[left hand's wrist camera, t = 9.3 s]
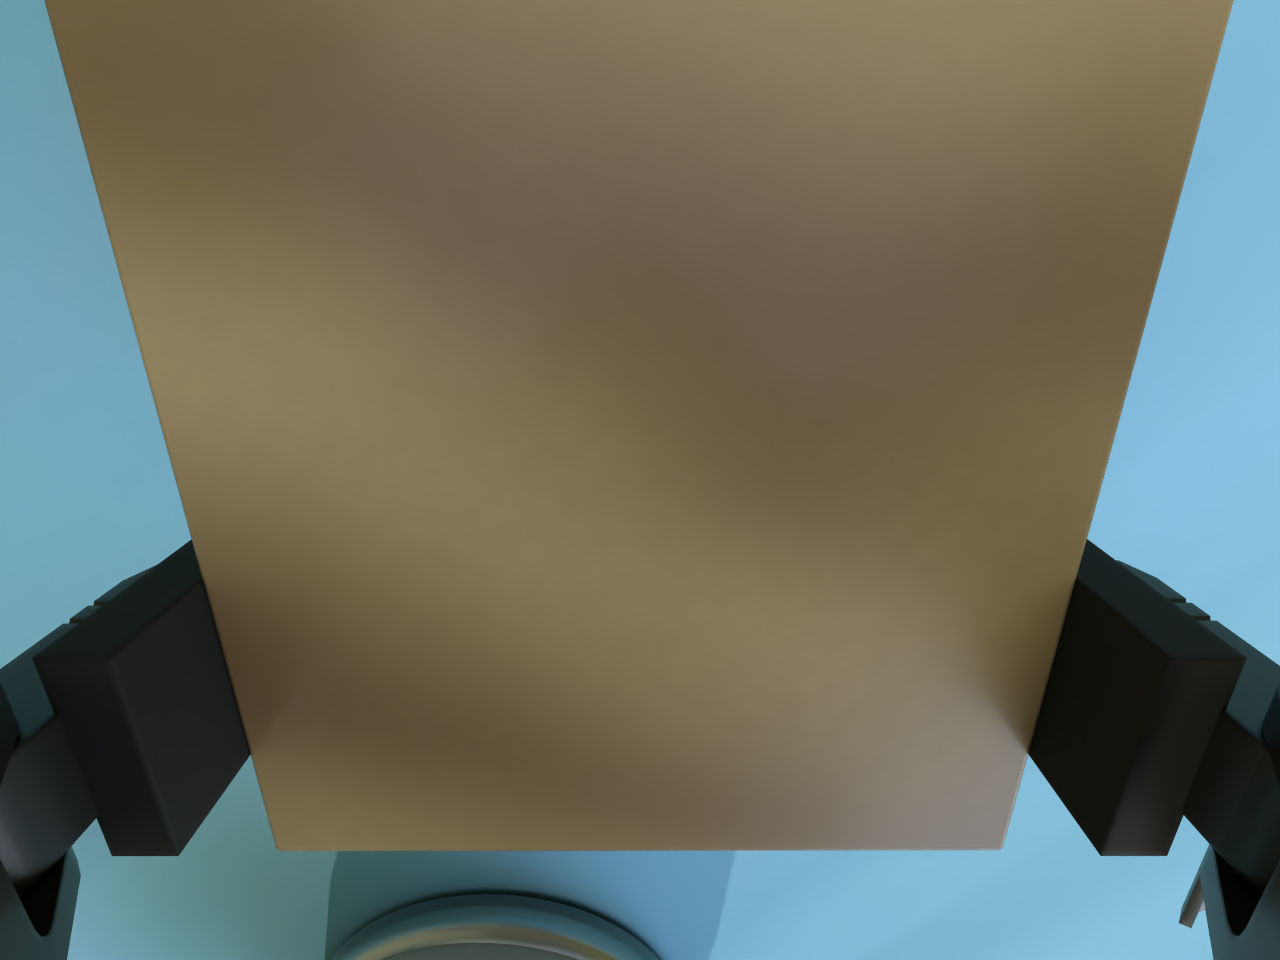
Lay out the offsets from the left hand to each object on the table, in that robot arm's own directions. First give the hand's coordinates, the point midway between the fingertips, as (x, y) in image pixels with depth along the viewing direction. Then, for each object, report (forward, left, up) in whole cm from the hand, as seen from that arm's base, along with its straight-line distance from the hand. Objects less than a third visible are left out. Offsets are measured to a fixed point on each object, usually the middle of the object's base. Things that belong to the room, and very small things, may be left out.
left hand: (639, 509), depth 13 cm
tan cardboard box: (+3, -4, -6) cm, 8 cm away
